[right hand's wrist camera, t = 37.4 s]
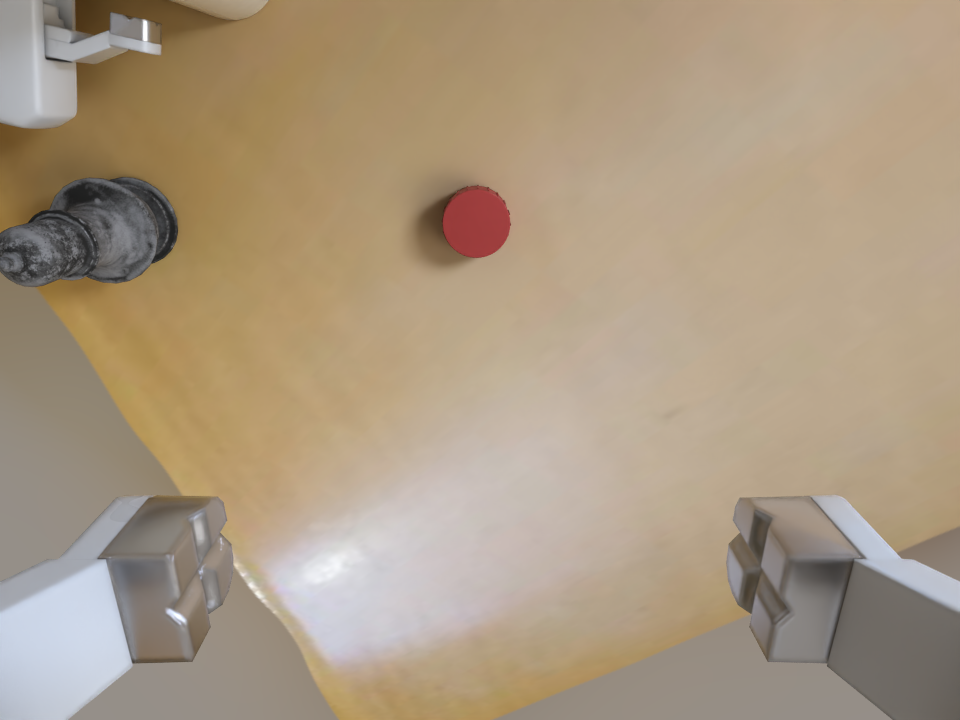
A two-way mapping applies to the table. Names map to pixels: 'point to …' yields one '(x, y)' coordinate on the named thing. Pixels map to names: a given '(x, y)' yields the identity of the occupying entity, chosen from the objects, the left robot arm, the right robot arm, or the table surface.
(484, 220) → the cap
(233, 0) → the bottle
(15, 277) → the grey stepped cylinder
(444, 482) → the table surface
